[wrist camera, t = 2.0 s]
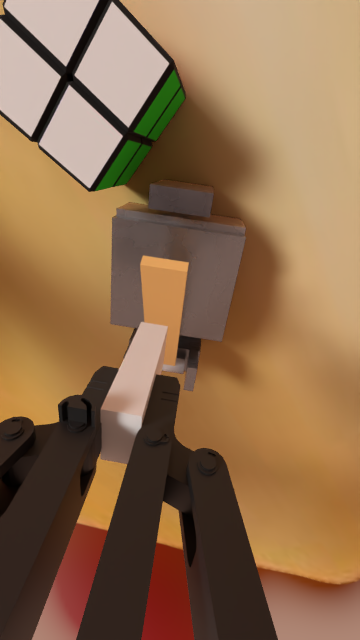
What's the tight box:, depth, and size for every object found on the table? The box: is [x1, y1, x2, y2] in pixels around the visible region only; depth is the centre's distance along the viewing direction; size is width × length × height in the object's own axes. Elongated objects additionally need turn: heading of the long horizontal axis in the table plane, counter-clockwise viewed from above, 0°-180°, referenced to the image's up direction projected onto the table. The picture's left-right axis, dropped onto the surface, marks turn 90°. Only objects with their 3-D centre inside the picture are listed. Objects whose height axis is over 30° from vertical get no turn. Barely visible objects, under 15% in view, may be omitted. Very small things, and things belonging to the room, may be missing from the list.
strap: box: [140, 256, 189, 374], centre depth 26 cm, size 5×17×2 cm
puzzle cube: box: [0, 0, 186, 192], centre depth 23 cm, size 10×10×10 cm
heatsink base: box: [111, 179, 246, 391], centre depth 31 cm, size 12×19×9 cm, turn 173°
